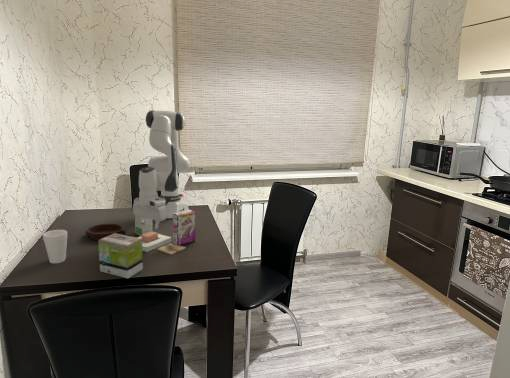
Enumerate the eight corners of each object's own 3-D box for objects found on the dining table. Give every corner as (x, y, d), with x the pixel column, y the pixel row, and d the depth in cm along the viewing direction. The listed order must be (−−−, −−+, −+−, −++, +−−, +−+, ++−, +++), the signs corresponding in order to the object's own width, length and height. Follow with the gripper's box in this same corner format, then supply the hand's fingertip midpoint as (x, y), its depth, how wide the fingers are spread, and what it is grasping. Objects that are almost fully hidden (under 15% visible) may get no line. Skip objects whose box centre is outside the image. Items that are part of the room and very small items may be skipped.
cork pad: (171, 244, 186) (171, 243, 186) (185, 248, 181) (185, 247, 181) (156, 250, 178) (156, 249, 178) (171, 254, 173) (171, 253, 173)
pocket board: (152, 236, 196) (152, 232, 196) (171, 241, 190) (171, 237, 189) (127, 245, 182) (127, 241, 182) (146, 252, 175) (146, 247, 175)
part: (151, 241, 190) (151, 231, 189) (158, 243, 188) (157, 233, 186) (141, 245, 184) (141, 235, 183) (147, 247, 182) (147, 236, 181)
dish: (120, 243, 186) (120, 234, 185) (77, 242, 186) (76, 233, 184) (131, 232, 203) (131, 223, 202) (92, 231, 203) (91, 222, 201)
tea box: (99, 272, 152) (97, 239, 149) (116, 263, 162) (114, 232, 158) (128, 279, 147) (126, 245, 144) (143, 269, 157) (142, 237, 153)
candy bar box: (177, 246, 184) (177, 215, 180) (172, 243, 187) (172, 213, 184) (196, 241, 192) (195, 211, 188) (190, 238, 195) (190, 209, 192)
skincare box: (134, 233, 201) (133, 206, 197) (145, 230, 206) (144, 204, 202) (142, 237, 195) (141, 209, 192) (153, 234, 200) (152, 207, 197)
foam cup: (66, 263, 160) (64, 236, 157) (43, 265, 157) (40, 237, 154) (71, 255, 169) (68, 229, 166) (48, 257, 166) (46, 230, 163)
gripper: (129, 198, 183) (130, 224, 186) (158, 204, 173) (159, 231, 176) (139, 196, 188) (140, 221, 191) (167, 201, 178) (168, 228, 181)
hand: (149, 226), depth 183 cm, fingers open, 8 cm apart
